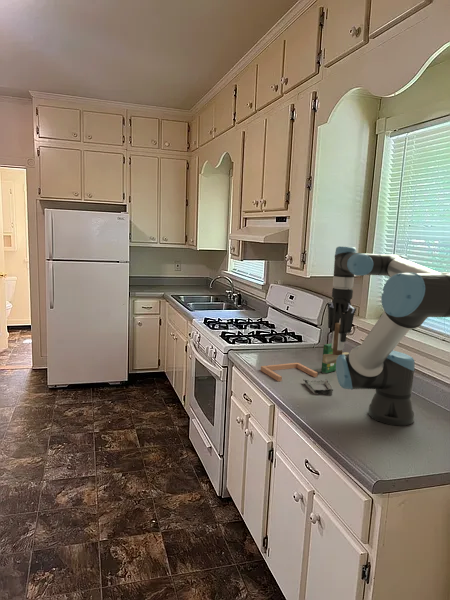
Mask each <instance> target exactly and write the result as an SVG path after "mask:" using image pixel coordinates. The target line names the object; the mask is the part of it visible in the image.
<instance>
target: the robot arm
mask: <svg viewBox="0 0 450 600" xmlns="http://www.w3.org/2000/svg"><path fill="white" fill-rule="evenodd" d="M408 258H409V257H408V256H407V255H404V254H403V255H401V254H397V253H396V254H389V253H387V254H386V253H385V254H381V253H363V252H361V253H360V252H357V248H356V247H353V246H337V247H336V248H335V253H334V261H333V262H334V265H333V276H332V277H333V279H332V288H331V289H332V290H331V297H332V302H327V304H326V305H327V312H328V313H327V316H328V317H327V319H328V320H327V323H328V324H327V326H328V329H330V331H331V343H332V348H333V344H334V331H335V323H340V332H339V335H338V347H337V350H342V351H344V350H345V345H346V344H345V343H346V341H347V334H349V333H351V332H352V330H353V329H352V327H353V324H354V323H353V322H354V317H355V316H354V315H355V313H356V311H357V308H356V307H354V306H352V302H351V300H352V299H353V294H354V289H353V288H354V283H355V282H354V279H355V276H357V277H359V276H383V277H385V276H387V277H389V278H388V279H387V280H386V282H385V284H384V286H383V287H382V292H383V293H381V298H380V299H381V306H382V309H383V312H382V314H381V316H379V318H378V320H377V321H376V323H375V324H374V325H373V327H372V328H371V330H370V331H369V333H367V336H365V338H364V340H363V341H362V342H361V343H360V345H357V346H355V347H353V348H352V349H351V350H350V351H349V352H348V353H349V354H348V355H344V354H343V355H339V356H338V357H337V360H336V371H335V373H336V379H337V381H338V385H339V386H340V387H341V388H342V389H344V390H351V391H352V390H375V392H374V395H373V397H372V399H371V402H370V404H369V405H368V411H367V415H368V417H371V418H372V419H373V420H375V421H378V422H380V423H383V424H386V425H392V426H400V427H401V426H409V425H411V424H412V425H413V423H414V422H415V421H414V420H415V412H414V410H413V404H412V390H413V381H414V373H415V359H414V358H413V357H412V356H411V355H409V354H407V353H404V352H401V351H396V350H395V348H396V347H397V346H398V344H399V343H400V342H401V341H402V340H403V339H404V337H405V336H406V335H407V334H408V332H409V331H410V330H413V329H414V330H415V329H417V328H419V327H421V326H422V325H423V323H425V321H427V319H428V318H450V272H448V271H446V272H439V271H436V270H433V269H432V268H429V267H426V266H423V265H421V264H418V263H415V262H414V261H410V259H408Z"/></svg>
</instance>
